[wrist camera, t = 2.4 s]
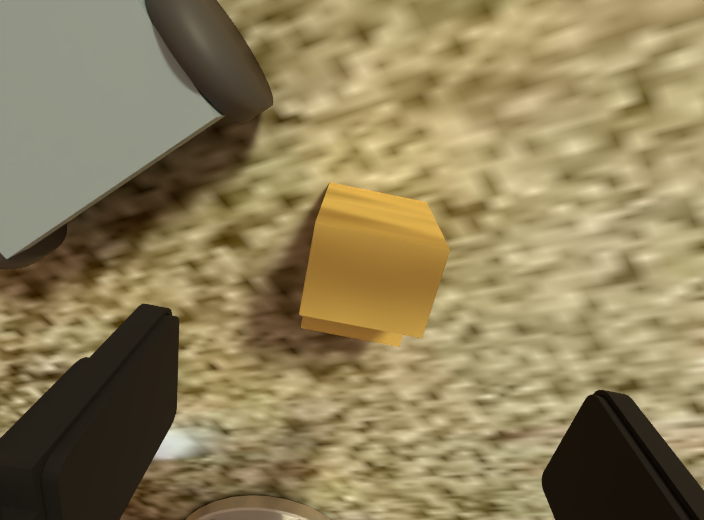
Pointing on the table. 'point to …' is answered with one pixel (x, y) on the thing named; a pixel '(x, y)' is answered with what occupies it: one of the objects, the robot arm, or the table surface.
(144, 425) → the robot arm
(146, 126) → the trolley
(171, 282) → the table surface
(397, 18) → the table surface
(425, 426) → the table surface
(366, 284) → the orange block
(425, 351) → the table surface
